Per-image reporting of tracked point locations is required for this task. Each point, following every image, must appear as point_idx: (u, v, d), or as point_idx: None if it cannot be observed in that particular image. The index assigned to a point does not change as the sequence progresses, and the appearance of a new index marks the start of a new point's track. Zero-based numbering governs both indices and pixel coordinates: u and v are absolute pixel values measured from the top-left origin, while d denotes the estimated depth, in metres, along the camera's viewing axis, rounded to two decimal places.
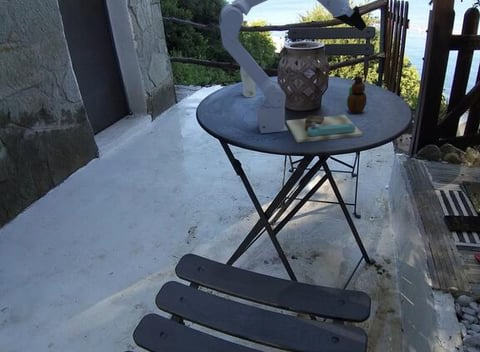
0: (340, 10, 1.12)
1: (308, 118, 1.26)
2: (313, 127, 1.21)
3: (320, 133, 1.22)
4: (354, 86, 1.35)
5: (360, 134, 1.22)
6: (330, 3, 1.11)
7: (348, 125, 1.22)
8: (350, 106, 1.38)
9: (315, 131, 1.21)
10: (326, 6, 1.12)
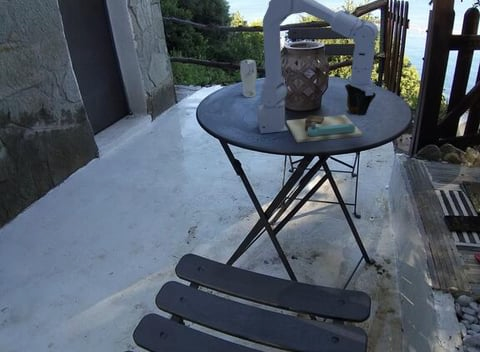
0: (361, 84, 1.08)
1: (308, 118, 1.26)
2: (313, 127, 1.21)
3: (320, 133, 1.22)
4: None
5: (360, 134, 1.22)
6: (361, 71, 1.07)
7: (348, 125, 1.22)
8: None
9: (315, 131, 1.21)
10: (355, 70, 1.07)
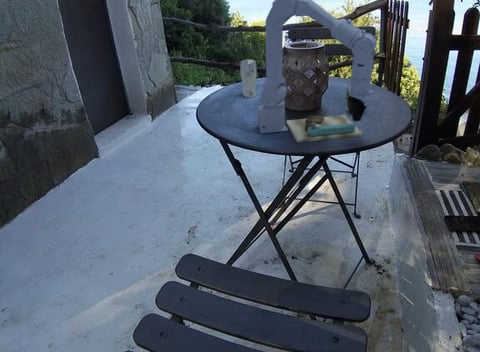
0: (360, 94, 1.10)
1: (308, 118, 1.26)
2: (313, 127, 1.21)
3: (320, 133, 1.22)
4: None
5: (360, 134, 1.22)
6: (360, 82, 1.08)
7: (348, 125, 1.22)
8: (350, 106, 1.38)
9: (315, 131, 1.21)
10: (354, 81, 1.09)
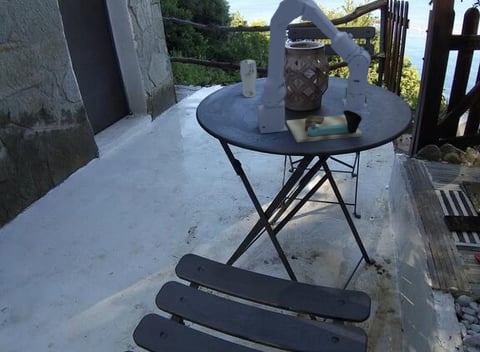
0: (356, 108, 1.14)
1: (308, 118, 1.26)
2: (313, 127, 1.21)
3: (320, 133, 1.22)
4: None
5: (360, 134, 1.22)
6: (356, 96, 1.12)
7: None
8: None
9: (315, 131, 1.21)
10: (350, 96, 1.13)
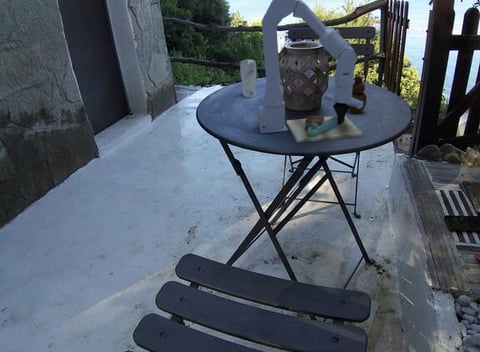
0: (348, 99, 1.21)
1: (308, 118, 1.26)
2: (314, 127, 1.21)
3: (320, 131, 1.23)
4: (354, 86, 1.35)
5: (360, 134, 1.22)
6: (347, 88, 1.19)
7: (336, 118, 1.28)
8: (350, 106, 1.38)
9: (317, 130, 1.21)
10: (342, 88, 1.19)
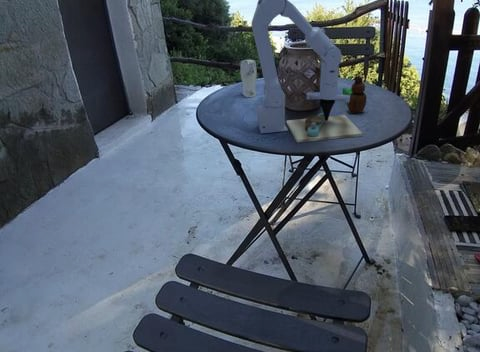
0: (335, 95, 1.25)
1: (308, 118, 1.26)
2: (315, 127, 1.21)
3: None
4: (354, 86, 1.35)
5: (360, 134, 1.22)
6: (335, 85, 1.23)
7: (321, 115, 1.31)
8: (350, 106, 1.38)
9: (318, 129, 1.22)
10: (331, 86, 1.23)
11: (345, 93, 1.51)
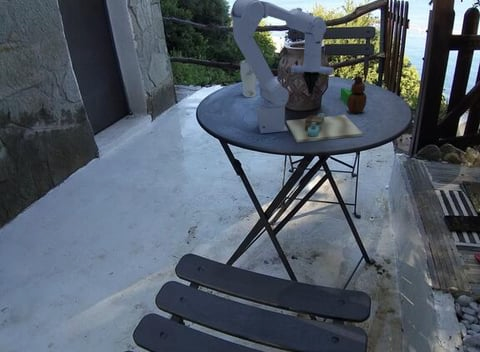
0: (319, 68, 1.26)
1: (308, 118, 1.26)
2: (315, 127, 1.21)
3: None
4: (354, 86, 1.35)
5: (360, 134, 1.22)
6: (319, 57, 1.24)
7: (321, 115, 1.31)
8: (350, 106, 1.38)
9: (318, 129, 1.22)
10: (314, 57, 1.24)
11: (343, 93, 1.51)
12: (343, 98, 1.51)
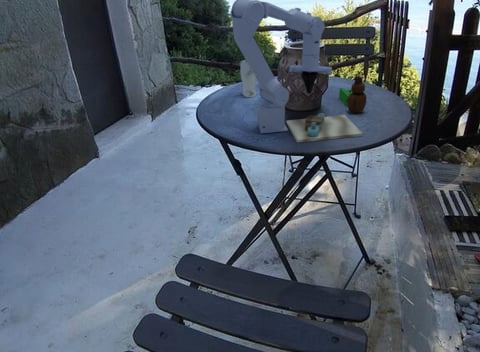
0: (317, 67, 1.27)
1: (308, 118, 1.26)
2: (315, 127, 1.21)
3: None
4: (354, 86, 1.35)
5: (360, 134, 1.22)
6: (317, 56, 1.25)
7: (321, 115, 1.31)
8: (350, 106, 1.38)
9: (318, 129, 1.22)
10: (313, 57, 1.24)
11: (342, 93, 1.51)
12: (342, 98, 1.51)
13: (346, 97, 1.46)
